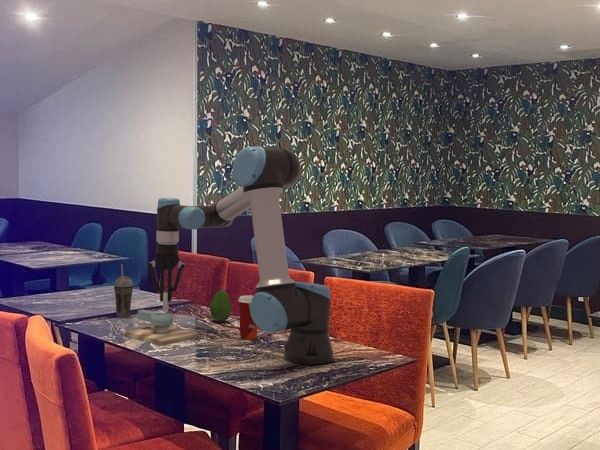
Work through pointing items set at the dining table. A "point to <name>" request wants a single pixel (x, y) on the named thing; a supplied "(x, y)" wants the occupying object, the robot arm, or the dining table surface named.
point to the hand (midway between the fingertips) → (165, 310)
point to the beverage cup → (123, 295)
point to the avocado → (220, 306)
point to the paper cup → (246, 319)
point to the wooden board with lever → (161, 334)
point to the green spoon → (156, 318)
